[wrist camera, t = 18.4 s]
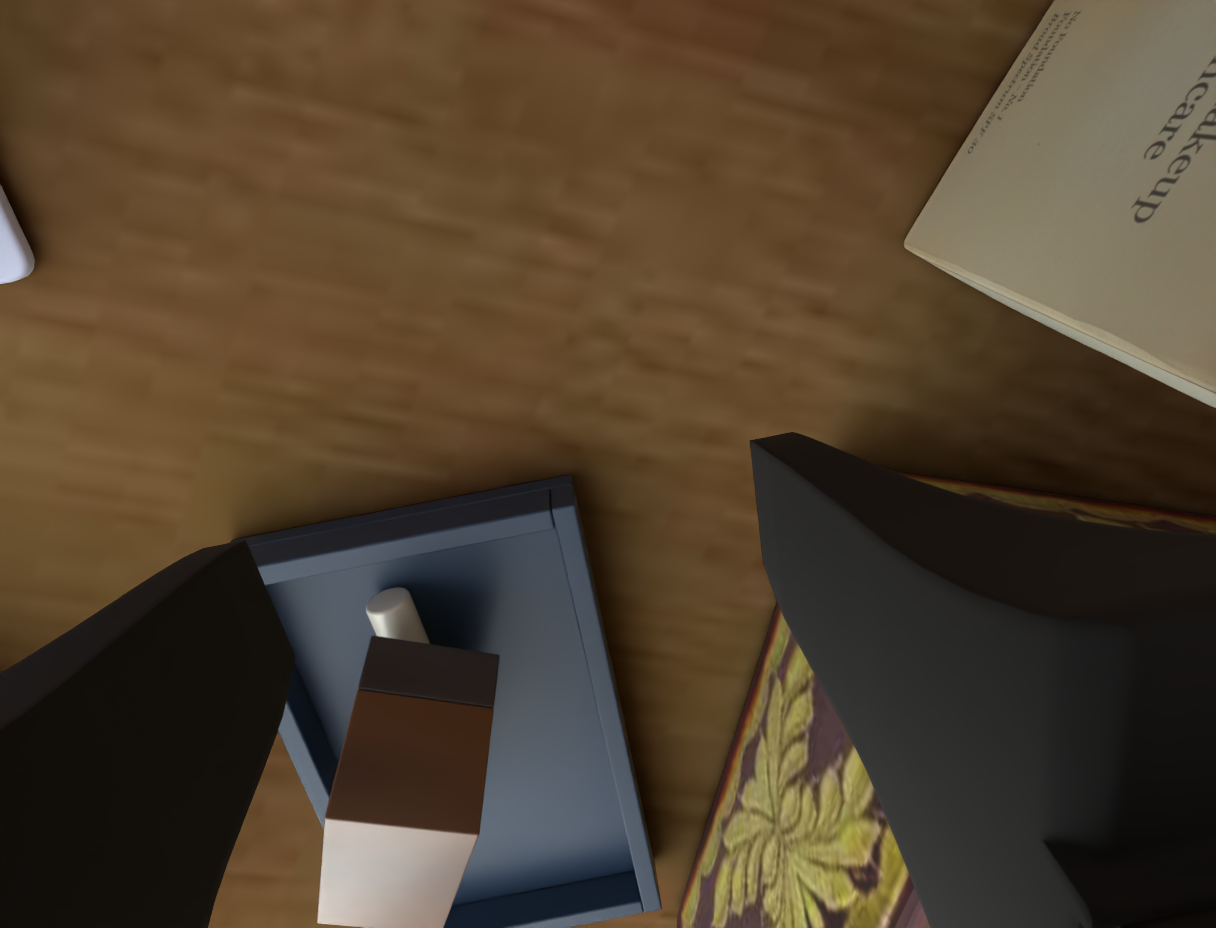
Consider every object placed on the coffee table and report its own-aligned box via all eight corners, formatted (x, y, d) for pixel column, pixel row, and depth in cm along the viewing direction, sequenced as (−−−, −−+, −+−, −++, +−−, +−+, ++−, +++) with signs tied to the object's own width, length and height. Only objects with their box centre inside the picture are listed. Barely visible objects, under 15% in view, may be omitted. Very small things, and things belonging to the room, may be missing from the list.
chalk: (431, 665, 23) (395, 690, 22) (395, 580, 22) (357, 604, 21) (452, 682, 22) (415, 707, 22) (417, 594, 21) (376, 619, 20)
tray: (393, 913, 28) (384, 965, 26) (231, 539, 21) (205, 575, 20) (654, 862, 28) (662, 910, 26) (571, 473, 21) (574, 504, 20)
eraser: (463, 770, 25) (440, 934, 21) (356, 757, 24) (316, 923, 21) (500, 653, 20) (479, 835, 17) (371, 634, 20) (323, 818, 16)
